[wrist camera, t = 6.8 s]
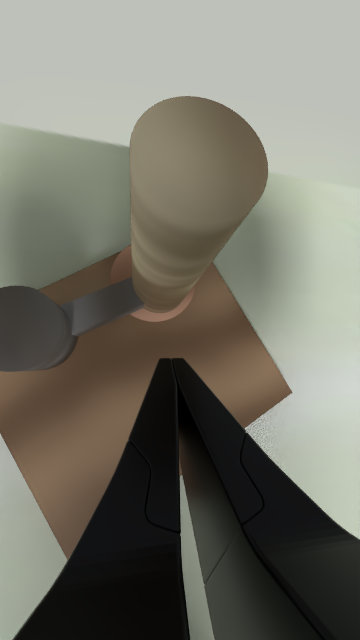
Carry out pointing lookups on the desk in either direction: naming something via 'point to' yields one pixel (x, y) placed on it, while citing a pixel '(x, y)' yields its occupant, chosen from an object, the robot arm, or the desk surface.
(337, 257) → the desk surface
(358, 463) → the desk surface
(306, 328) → the desk surface
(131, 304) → the crank handle
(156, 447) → the robot arm
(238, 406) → the brown board
